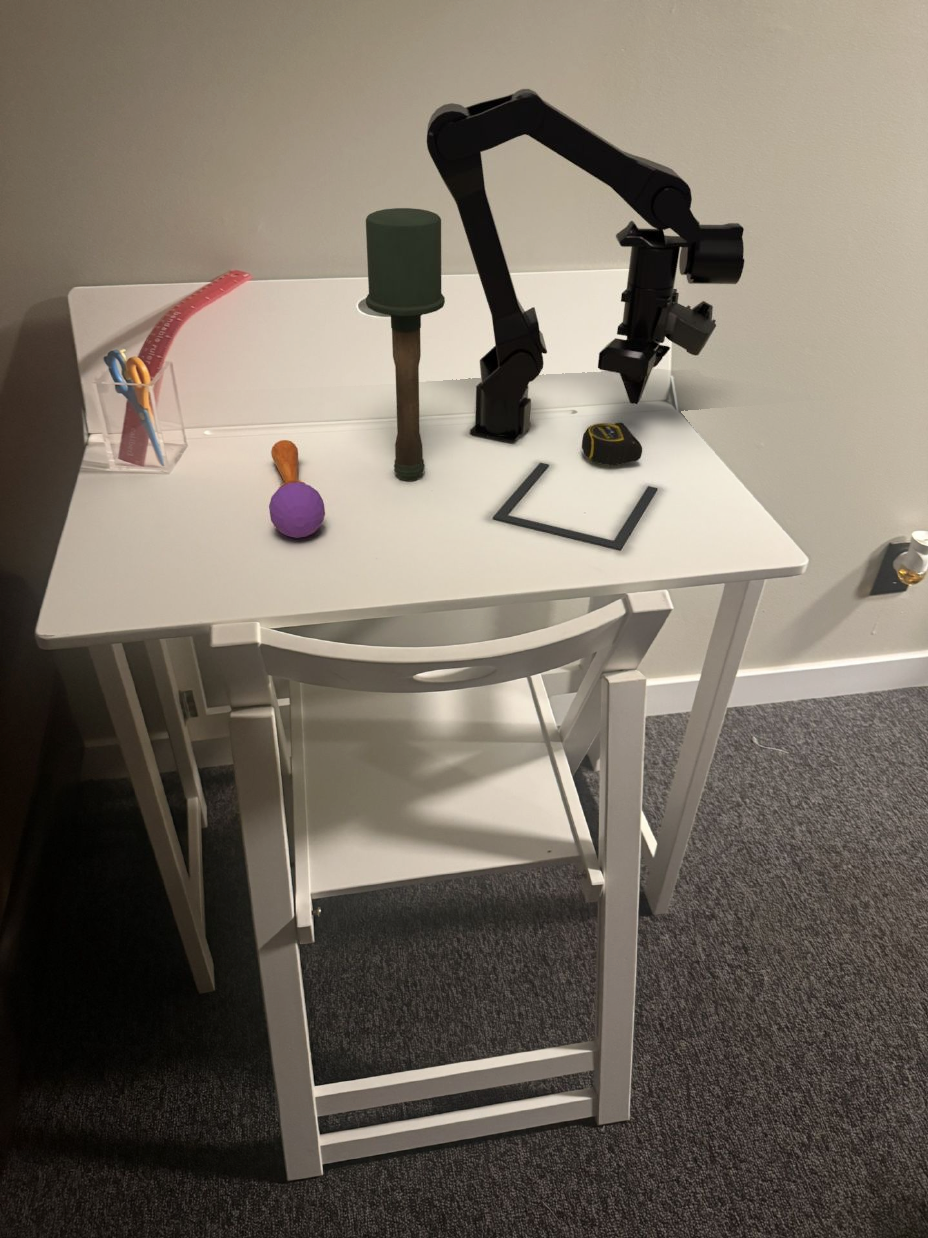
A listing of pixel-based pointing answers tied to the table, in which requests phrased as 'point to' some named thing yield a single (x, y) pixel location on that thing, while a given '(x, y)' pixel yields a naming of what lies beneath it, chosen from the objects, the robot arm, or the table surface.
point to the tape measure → (610, 444)
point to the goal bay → (616, 544)
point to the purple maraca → (294, 496)
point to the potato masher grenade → (405, 309)
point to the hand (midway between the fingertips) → (634, 402)
